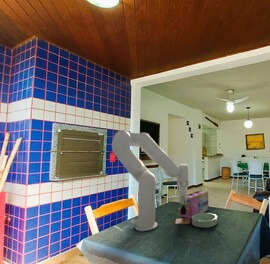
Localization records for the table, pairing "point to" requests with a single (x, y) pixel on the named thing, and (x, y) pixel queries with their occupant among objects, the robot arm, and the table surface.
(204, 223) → the bowl
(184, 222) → the coaster
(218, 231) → the table surface
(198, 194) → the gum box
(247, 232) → the table surface
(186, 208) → the eraser
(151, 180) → the robot arm
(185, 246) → the table surface
